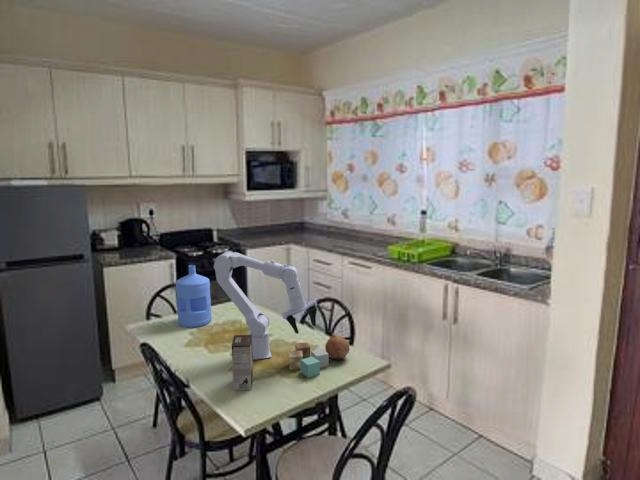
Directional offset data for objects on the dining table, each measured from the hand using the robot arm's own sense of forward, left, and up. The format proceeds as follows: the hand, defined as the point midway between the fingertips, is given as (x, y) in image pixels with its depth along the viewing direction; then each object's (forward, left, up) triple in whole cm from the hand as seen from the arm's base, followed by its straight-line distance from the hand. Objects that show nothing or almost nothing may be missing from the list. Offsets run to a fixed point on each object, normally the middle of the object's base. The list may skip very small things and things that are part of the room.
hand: (305, 329), depth 171 cm
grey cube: (+4, -9, -11) cm, 15 cm away
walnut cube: (-1, -1, -11) cm, 11 cm away
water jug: (-44, +50, -11) cm, 68 cm away
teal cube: (-1, -15, -11) cm, 19 cm away
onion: (+12, -5, -11) cm, 17 cm away
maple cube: (-5, -8, -11) cm, 15 cm away
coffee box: (-25, -17, -11) cm, 32 cm away
